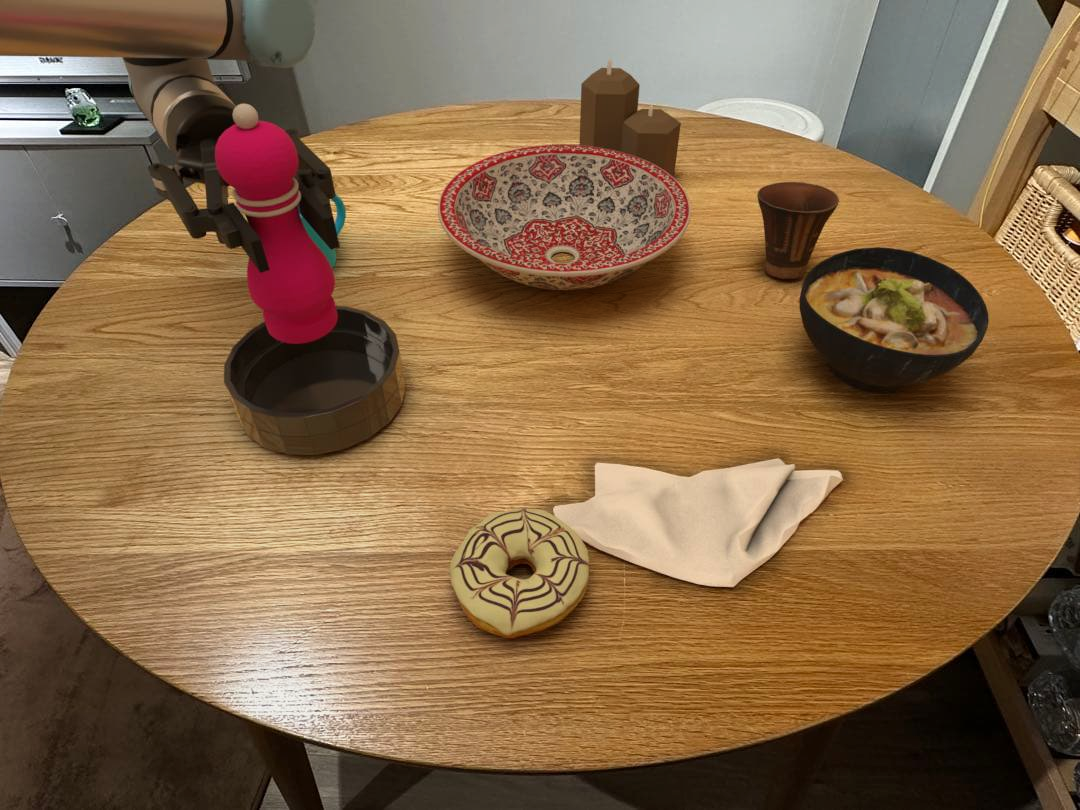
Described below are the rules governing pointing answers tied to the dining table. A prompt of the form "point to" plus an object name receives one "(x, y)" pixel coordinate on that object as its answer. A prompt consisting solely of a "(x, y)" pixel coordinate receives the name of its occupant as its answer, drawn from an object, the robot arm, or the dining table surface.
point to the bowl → (890, 317)
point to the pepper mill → (277, 229)
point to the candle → (626, 120)
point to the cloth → (698, 516)
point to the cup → (793, 224)
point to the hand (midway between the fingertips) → (296, 244)
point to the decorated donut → (509, 599)
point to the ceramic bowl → (564, 214)
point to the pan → (317, 385)
